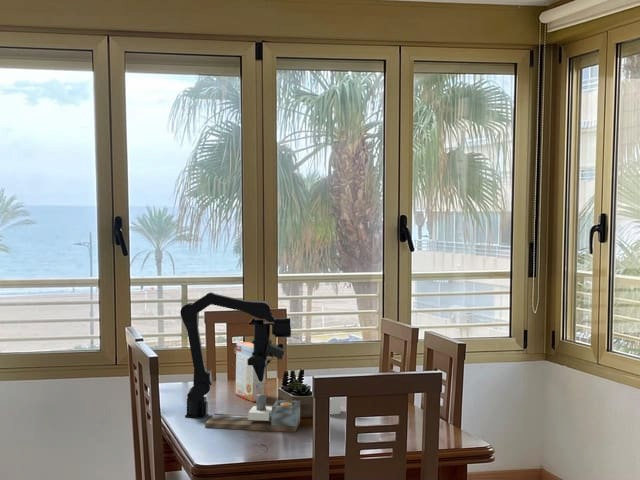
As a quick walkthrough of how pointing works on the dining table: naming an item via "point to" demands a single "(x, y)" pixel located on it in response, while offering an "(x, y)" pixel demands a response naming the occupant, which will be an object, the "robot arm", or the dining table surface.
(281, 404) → the button
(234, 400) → the dining table surface
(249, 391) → the cracker box
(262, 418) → the carriage
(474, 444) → the dining table surface
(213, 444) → the dining table surface
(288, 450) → the dining table surface
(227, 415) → the rail board
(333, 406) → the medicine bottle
